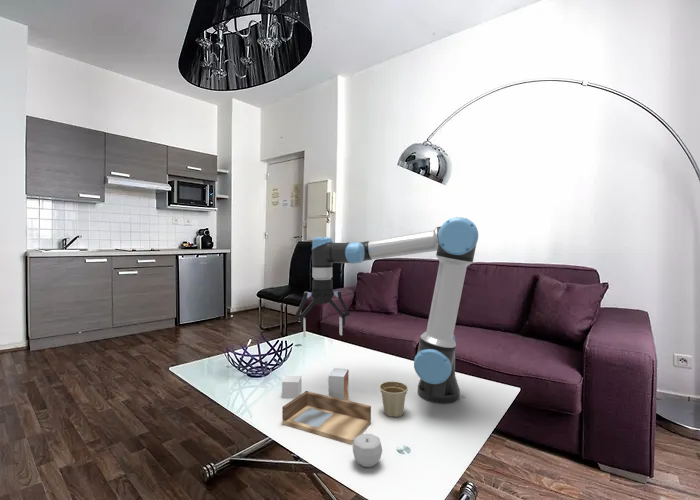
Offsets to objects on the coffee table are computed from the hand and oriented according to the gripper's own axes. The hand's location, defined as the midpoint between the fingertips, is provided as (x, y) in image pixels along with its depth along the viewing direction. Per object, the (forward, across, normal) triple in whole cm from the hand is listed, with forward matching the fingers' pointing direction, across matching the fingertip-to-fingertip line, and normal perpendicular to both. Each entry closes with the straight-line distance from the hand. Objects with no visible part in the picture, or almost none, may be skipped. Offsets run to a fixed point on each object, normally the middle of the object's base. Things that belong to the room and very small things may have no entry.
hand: (322, 335), depth 130 cm
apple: (+22, -8, +44) cm, 50 cm away
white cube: (+22, +12, +1) cm, 24 cm away
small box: (+22, -5, +9) cm, 24 cm away
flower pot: (+22, -22, +19) cm, 36 cm away
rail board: (+21, 0, +23) cm, 32 cm away
